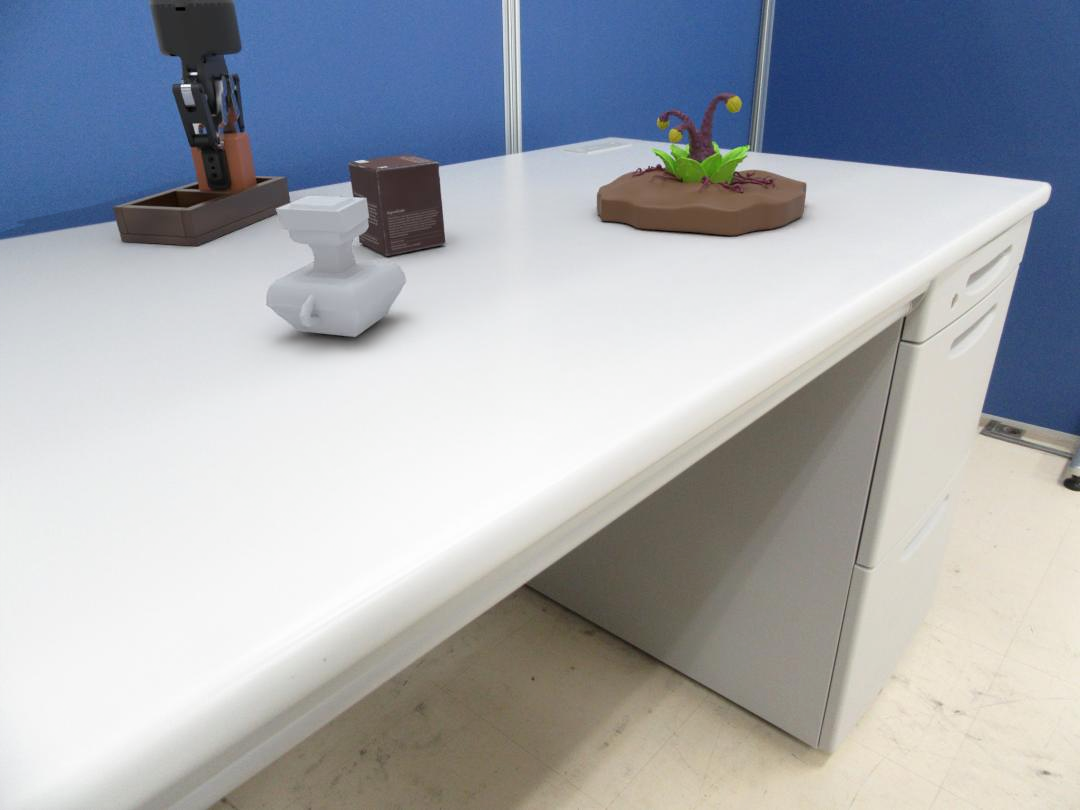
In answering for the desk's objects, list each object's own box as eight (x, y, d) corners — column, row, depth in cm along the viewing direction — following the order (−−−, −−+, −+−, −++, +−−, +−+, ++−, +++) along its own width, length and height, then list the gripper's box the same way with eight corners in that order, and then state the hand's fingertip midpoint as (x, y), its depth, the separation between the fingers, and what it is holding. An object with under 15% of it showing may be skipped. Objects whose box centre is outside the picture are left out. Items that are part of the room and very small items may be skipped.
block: (201, 201, 81) (188, 140, 78) (215, 192, 85) (203, 134, 82) (247, 200, 81) (236, 139, 78) (258, 190, 85) (248, 132, 82)
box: (447, 246, 70) (440, 161, 67) (385, 258, 67) (375, 170, 64) (417, 232, 75) (409, 153, 72) (357, 243, 72) (346, 160, 69)
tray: (121, 241, 75) (112, 206, 73) (225, 204, 88) (219, 174, 87) (197, 246, 73) (189, 210, 71) (291, 207, 86) (286, 176, 85)
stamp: (354, 357, 48) (335, 220, 44) (261, 347, 50) (235, 214, 46) (417, 308, 56) (405, 187, 52) (335, 302, 58) (317, 184, 54)
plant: (760, 245, 68) (774, 107, 63) (568, 220, 78) (567, 99, 73) (827, 200, 83) (843, 86, 78) (658, 184, 93) (662, 81, 88)
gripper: (177, 2, 81) (211, 172, 88) (120, 0, 68) (167, 199, 76) (251, 0, 81) (279, 170, 89) (209, -2, 68) (246, 197, 76)
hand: (227, 183), depth 82 cm, fingers closed on block, 4 cm apart
